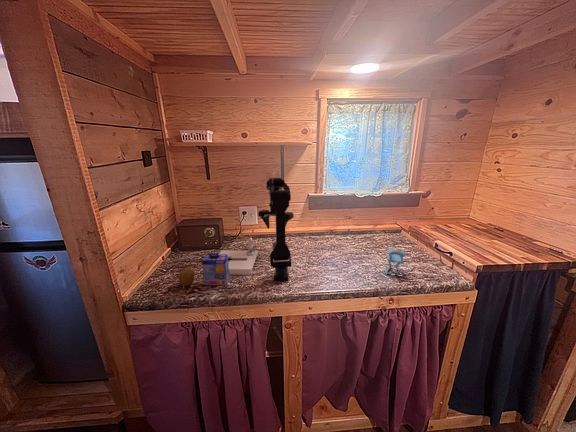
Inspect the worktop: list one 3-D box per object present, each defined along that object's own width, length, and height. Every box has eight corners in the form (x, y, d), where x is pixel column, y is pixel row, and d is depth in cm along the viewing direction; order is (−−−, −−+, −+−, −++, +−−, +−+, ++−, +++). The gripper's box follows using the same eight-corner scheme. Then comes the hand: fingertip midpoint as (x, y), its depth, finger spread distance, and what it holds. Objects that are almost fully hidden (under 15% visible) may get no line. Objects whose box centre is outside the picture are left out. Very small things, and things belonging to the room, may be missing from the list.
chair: (401, 268, 111) (404, 246, 108) (403, 277, 103) (407, 253, 100) (384, 266, 113) (387, 243, 110) (385, 274, 106) (388, 250, 103)
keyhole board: (251, 274, 106) (251, 269, 105) (208, 274, 106) (208, 268, 106) (258, 255, 125) (257, 250, 124) (221, 255, 126) (221, 250, 125)
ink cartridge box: (204, 286, 97) (200, 255, 93) (207, 279, 103) (204, 249, 99) (227, 285, 98) (224, 254, 94) (229, 278, 103) (227, 248, 99)
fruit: (197, 281, 101) (195, 265, 99) (191, 289, 95) (189, 272, 93) (184, 281, 101) (181, 264, 99) (176, 289, 95) (174, 272, 93)
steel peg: (254, 255, 118) (253, 239, 116) (246, 255, 119) (245, 239, 116) (255, 252, 123) (255, 236, 120) (247, 252, 123) (246, 236, 120)
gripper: (297, 200, 124) (297, 227, 128) (267, 197, 131) (268, 223, 135) (289, 204, 114) (289, 233, 118) (257, 201, 121) (258, 229, 126)
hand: (276, 229), depth 125 cm, fingers open, 9 cm apart
